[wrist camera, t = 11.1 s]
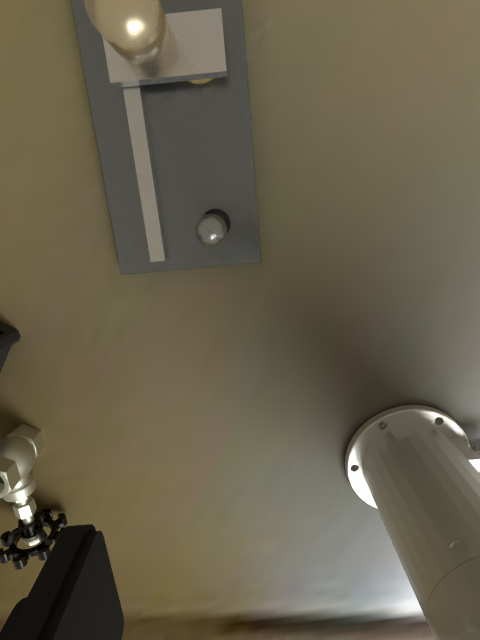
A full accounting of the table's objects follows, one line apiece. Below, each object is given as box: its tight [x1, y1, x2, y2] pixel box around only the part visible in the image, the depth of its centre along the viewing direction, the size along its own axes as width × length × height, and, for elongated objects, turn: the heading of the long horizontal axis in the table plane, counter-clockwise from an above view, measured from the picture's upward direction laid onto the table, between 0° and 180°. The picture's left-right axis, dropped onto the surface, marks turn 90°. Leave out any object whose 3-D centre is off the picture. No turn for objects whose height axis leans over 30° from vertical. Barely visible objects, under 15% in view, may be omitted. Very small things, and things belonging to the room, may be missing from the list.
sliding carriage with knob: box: [84, 0, 227, 88], centre depth 24 cm, size 8×4×9 cm, turn 95°
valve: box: [0, 424, 67, 569], centre depth 39 cm, size 7×7×12 cm
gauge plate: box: [71, 0, 261, 275], centre depth 28 cm, size 12×23×9 cm, turn 5°
